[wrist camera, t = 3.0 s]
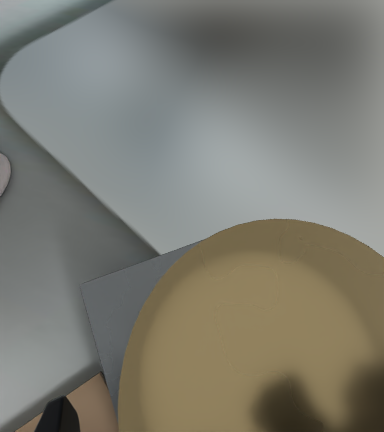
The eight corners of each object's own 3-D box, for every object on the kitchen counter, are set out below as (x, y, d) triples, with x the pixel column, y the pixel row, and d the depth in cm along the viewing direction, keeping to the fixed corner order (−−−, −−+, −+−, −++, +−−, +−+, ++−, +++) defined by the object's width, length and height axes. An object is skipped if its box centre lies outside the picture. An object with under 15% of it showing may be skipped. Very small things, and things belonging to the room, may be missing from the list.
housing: (304, 389, 16) (335, 403, 13) (144, 471, 14) (141, 508, 12) (237, 237, 19) (250, 222, 16) (92, 290, 17) (79, 284, 14)
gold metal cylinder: (263, 353, 16) (543, 440, 4) (183, 417, 15) (277, 791, 3) (209, 272, 18) (316, 169, 6) (130, 325, 16) (49, 336, 4)
